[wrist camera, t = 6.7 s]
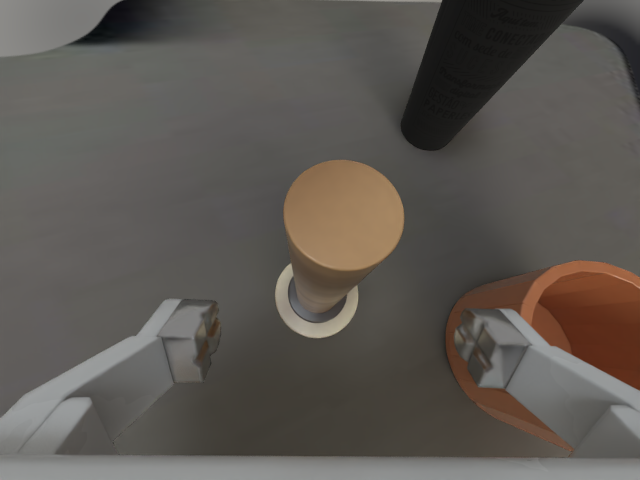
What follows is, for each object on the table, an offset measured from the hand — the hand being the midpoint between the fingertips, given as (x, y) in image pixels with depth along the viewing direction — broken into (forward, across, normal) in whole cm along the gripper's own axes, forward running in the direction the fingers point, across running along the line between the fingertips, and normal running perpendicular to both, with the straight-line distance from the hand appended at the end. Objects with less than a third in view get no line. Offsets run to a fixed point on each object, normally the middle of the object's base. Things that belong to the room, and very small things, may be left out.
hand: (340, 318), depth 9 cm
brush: (+9, +1, +6) cm, 11 cm away
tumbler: (+7, -13, +8) cm, 17 cm away
